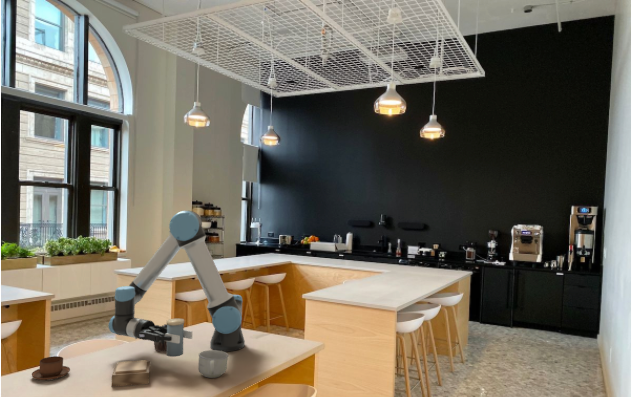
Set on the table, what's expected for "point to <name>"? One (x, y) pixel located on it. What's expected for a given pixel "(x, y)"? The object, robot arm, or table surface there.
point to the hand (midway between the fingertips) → (185, 337)
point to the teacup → (212, 363)
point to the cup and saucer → (51, 369)
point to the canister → (176, 329)
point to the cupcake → (160, 346)
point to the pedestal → (131, 373)
